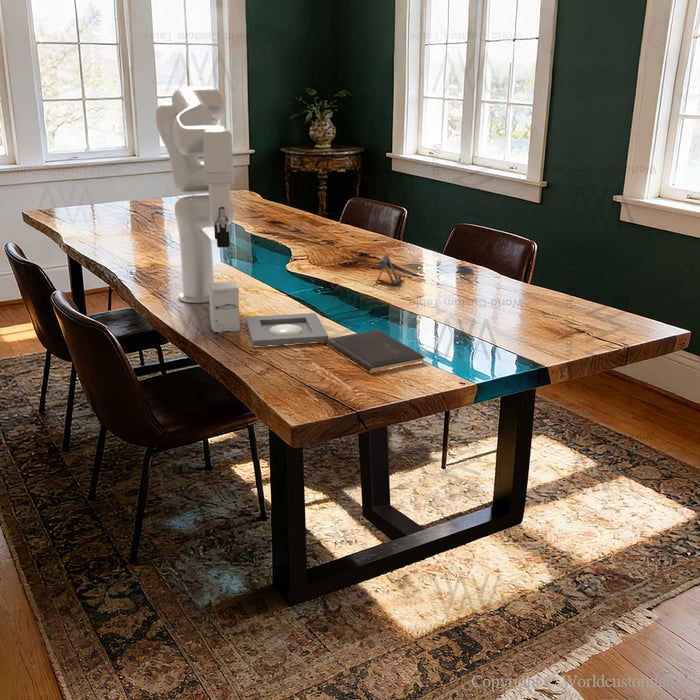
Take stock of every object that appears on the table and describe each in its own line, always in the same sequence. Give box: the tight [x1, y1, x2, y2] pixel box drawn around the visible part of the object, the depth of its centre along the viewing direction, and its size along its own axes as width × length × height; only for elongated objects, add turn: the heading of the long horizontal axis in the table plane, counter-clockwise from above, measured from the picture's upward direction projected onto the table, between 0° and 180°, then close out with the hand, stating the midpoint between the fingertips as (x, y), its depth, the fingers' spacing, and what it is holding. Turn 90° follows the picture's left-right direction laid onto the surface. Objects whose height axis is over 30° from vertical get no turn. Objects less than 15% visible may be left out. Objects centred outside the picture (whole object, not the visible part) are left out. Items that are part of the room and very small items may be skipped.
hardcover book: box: [325, 329, 426, 372], centre depth 203 cm, size 16×23×2 cm
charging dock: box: [245, 312, 329, 348], centre depth 217 cm, size 20×20×2 cm
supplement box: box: [208, 281, 241, 333], centre depth 219 cm, size 7×7×13 cm
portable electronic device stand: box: [375, 254, 403, 287], centre depth 266 cm, size 9×8×8 cm
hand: (222, 242), depth 212 cm, fingers open, 9 cm apart
